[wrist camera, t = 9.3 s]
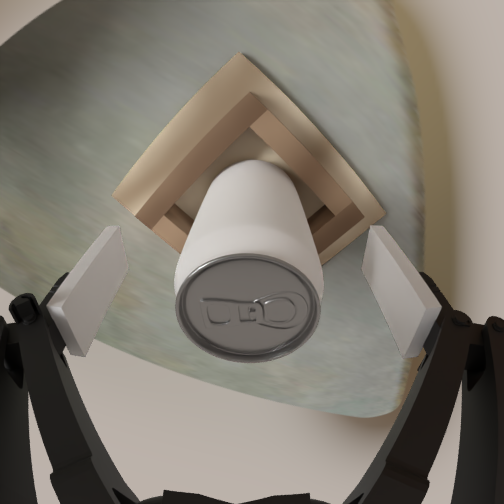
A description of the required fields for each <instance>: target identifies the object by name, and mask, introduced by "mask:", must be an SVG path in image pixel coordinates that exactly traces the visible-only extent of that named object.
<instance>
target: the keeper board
mask: <svg viewBox="0 0 504 504" xmlns="http://www.w3.org/2000/svg"><path fill="white" fill-rule="evenodd" d="M243 160H262V161H266V162H269V163H271V164H274V165H276V166H277V167H279V168H280V169H282V170H283V171H284V172H285V173H286V174H287V175H288V176H289V177H290V179H291V180H292V182H293V184H294V186H295V188H296V191H297V193H298V196H299V199H300V201H301V204H302V207H303V210H304V213H305V216H306V219H307V222H308V225H309V228H310V231H311V234H312V237H313V240H314V243H315V247H316V250H317V253H318V257H319V260H320V264H321V266H322V265H323V264H325V263H326V262H327V261H328V260H330V259H331V258H332V257H333V256H335V255H336V254H337V253H339V252H340V251H341V250H342V249H344V248H345V247H346V246H347V245H349V244H350V243H351V242H352V241H354V240H355V239H356V238H357V237H359V236H360V235H361V234H362V233H363V232H365V231H366V230H367V229H368V228H370V225H373V224H374V223H376V222H377V221H378V220H379V219H380V218H382V217H383V216H384V215H385V214H386V212H385V211H384V210H383V208H382V207H381V206H380V204H379V203H378V202H377V200H376V199H375V198H374V196H373V195H372V194H371V192H370V191H369V190H368V188H367V187H366V186H365V185H364V183H363V182H362V181H361V180H360V178H359V177H358V176H357V175H356V173H355V172H354V171H353V170H352V168H351V167H350V166H349V165H348V163H347V162H346V161H345V160H344V159H343V158H342V156H341V155H340V154H339V153H338V152H337V150H336V149H335V148H334V147H333V146H332V145H331V143H330V142H329V141H328V140H327V139H326V138H325V137H324V136H323V134H322V133H321V132H320V131H319V130H318V129H317V128H316V127H315V126H314V124H313V123H312V122H311V121H310V120H309V119H308V118H307V117H306V116H305V115H304V114H303V113H302V112H301V111H300V110H299V108H298V107H297V106H296V105H295V104H294V103H293V102H292V101H291V100H290V99H289V98H288V97H287V96H286V95H285V94H284V93H283V92H282V91H281V90H280V89H279V88H278V87H277V86H276V85H275V84H274V83H273V82H272V81H271V80H270V79H269V78H267V77H266V76H265V75H264V74H263V73H262V72H261V71H260V70H259V69H258V68H257V67H256V66H255V65H254V64H252V63H251V62H250V61H249V60H248V59H247V58H246V57H245V56H244V55H242V54H241V53H240V52H238V53H237V54H236V55H235V56H234V57H232V58H231V59H230V60H229V61H228V62H227V63H226V64H225V65H224V66H223V67H222V68H221V69H220V70H219V71H218V72H217V73H216V74H215V75H214V76H213V77H212V78H211V79H210V80H209V81H208V82H207V83H206V84H205V85H204V86H203V87H202V88H201V89H200V90H199V91H198V92H197V93H196V94H195V95H194V96H193V97H192V98H191V99H190V100H189V101H188V102H187V103H186V104H185V105H184V107H183V108H182V109H181V110H180V111H179V112H178V113H177V114H176V115H175V116H174V118H173V119H172V120H171V121H170V122H169V123H168V124H167V126H166V127H165V128H164V129H163V130H162V131H161V133H160V134H159V135H158V136H157V137H156V138H155V140H154V141H153V142H152V143H151V144H150V146H149V147H148V148H147V149H146V151H145V152H144V153H143V154H142V156H141V157H140V158H139V159H138V161H137V162H136V163H135V164H134V166H133V167H132V168H131V170H130V171H129V172H128V174H127V175H126V176H125V178H124V179H123V180H122V182H121V183H120V184H119V186H118V187H117V188H116V190H115V191H114V193H113V194H112V195H111V196H112V197H114V198H115V199H116V200H117V201H118V202H119V203H120V204H122V205H123V206H124V207H125V208H126V209H127V210H129V211H130V212H131V213H132V214H133V215H135V217H136V218H137V219H139V220H140V221H141V222H142V223H143V224H145V225H146V226H147V227H148V228H149V229H151V230H152V231H153V232H154V233H155V234H157V235H158V236H159V237H160V238H161V239H163V240H164V241H165V242H166V243H168V244H169V245H170V246H171V247H172V248H174V249H175V250H176V251H177V252H179V253H180V254H181V252H182V250H183V247H184V245H185V242H186V240H187V237H188V235H189V232H190V230H191V228H192V225H193V223H194V221H195V218H196V216H197V214H198V211H199V209H200V207H201V205H202V202H203V200H204V198H205V196H206V194H207V191H208V189H209V187H210V185H211V183H212V182H213V180H214V179H215V177H216V176H217V175H218V174H219V173H220V172H221V171H222V170H223V169H225V168H226V167H228V166H229V165H231V164H233V163H236V162H239V161H243Z"/></svg>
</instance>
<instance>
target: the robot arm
mask: <svg viewBox="0 0 504 504" xmlns="http://www.w3.org/2000/svg"><path fill="white" fill-rule="evenodd" d="M128 270H129V266H128V262H127V258H126V253H125V249H124V244H123V240H122V235H121V230H120V226H107V227H106V228H105V229H104V230H103V232H102V233H101V234H100V235H99V236H98V238H97V239H96V240H95V241H94V242H93V244H92V245H91V246H90V247H89V249H88V250H87V251H86V252H85V254H84V255H83V256H82V258H81V259H80V260H79V261H78V263H77V264H76V265H75V267H74V268H73V269H72V271H71V272H70V273H69V272H67V273H66V274H64V275H63V276H62V277H60V278H59V279H58V280H57V282H56V283H55V284H54V287H52V289H51V290H50V292H49V293H48V294H47V295H46V297H45V298H44V300H43V301H42V302H41V304H40V305H38V303H37V301H36V298H35V296H34V295H33V294H31V293H25V294H22V295H19V296H18V297H16V298H15V299H14V300H13V301H12V302H11V303H10V305H9V311H10V313H11V315H12V317H13V319H14V320H15V322H16V323H10V324H7V323H6V321H5V320H4V318H3V317H2V316H0V504H38V503H37V497H36V491H35V486H34V479H33V471H32V463H31V453H30V439H29V418H28V391H29V395H30V399H31V403H32V407H33V410H34V414H35V418H36V421H37V425H38V428H39V431H40V434H41V437H42V440H43V443H44V446H45V449H46V452H47V454H48V457H49V460H50V462H51V465H52V468H53V473H51V474H50V480H51V483H52V486H53V488H54V491H55V493H56V495H57V497H58V500H59V502H60V504H232V503H228V502H225V501H221V500H217V499H214V498H210V497H207V496H204V495H200V494H194V493H185V492H176V491H169V490H164V492H163V496H158V497H153V498H149V499H146V500H143V501H141V502H140V501H139V499H138V498H137V497H136V495H135V494H134V493H133V492H132V491H131V489H130V488H129V487H128V486H127V484H126V483H125V482H124V480H123V478H122V477H121V475H120V473H119V472H118V470H117V468H116V467H115V465H114V463H113V462H112V460H111V458H110V456H109V454H108V452H107V451H106V449H105V447H104V445H103V443H102V441H101V439H100V437H99V436H98V433H97V431H96V430H95V427H94V425H93V423H92V421H91V419H90V417H89V414H88V412H87V410H86V408H85V406H84V404H83V401H82V399H81V396H80V394H79V391H78V389H77V387H76V384H75V382H74V379H73V376H72V374H71V371H70V368H69V366H68V363H67V360H66V357H65V356H64V354H63V350H64V348H65V346H67V348H68V350H69V352H70V354H71V355H75V356H81V357H86V354H87V352H88V350H89V348H90V345H91V343H92V341H93V339H94V337H95V335H96V333H97V331H98V329H99V327H100V325H101V322H102V320H103V318H104V316H105V314H106V312H107V310H108V308H109V306H110V304H111V303H112V301H113V299H114V297H115V295H116V293H117V291H118V289H119V287H120V285H121V283H122V282H123V280H124V278H125V276H126V274H127V272H128ZM361 270H362V272H363V274H364V276H365V278H366V280H367V282H368V284H369V286H370V288H371V290H372V292H373V294H374V296H375V298H376V301H377V303H378V305H379V307H380V309H381V311H382V313H383V315H384V317H385V320H386V322H387V324H388V326H389V328H390V331H391V333H392V335H393V337H394V340H395V342H396V344H397V346H398V349H399V351H400V353H401V356H402V358H403V359H405V358H412V357H417V356H418V355H419V353H420V352H421V350H422V347H424V349H425V351H426V355H425V357H424V359H423V361H422V363H421V364H420V366H419V368H418V374H417V376H416V378H415V381H414V383H413V385H412V388H411V390H410V392H409V394H408V396H407V398H406V400H405V403H404V405H403V407H402V409H401V411H400V413H399V415H398V417H397V419H396V421H395V423H394V425H393V427H392V428H391V430H390V432H389V434H388V436H387V438H386V440H385V441H384V443H383V445H382V447H381V448H380V450H379V452H378V453H377V455H376V457H375V458H374V460H373V462H372V463H371V465H370V467H369V468H368V470H367V472H366V473H365V475H364V476H363V478H362V479H361V481H360V482H359V484H358V485H357V486H356V488H355V489H354V490H353V492H352V493H351V494H350V495H349V496H348V498H347V499H346V500H345V501H344V502H343V504H421V503H422V501H423V499H424V497H425V495H426V493H427V490H428V488H429V483H430V482H429V480H427V477H428V474H429V472H430V469H431V467H432V465H433V462H434V460H435V458H436V455H437V453H438V450H439V448H440V445H441V443H442V440H443V437H444V435H445V432H446V429H447V426H448V423H449V420H450V417H451V414H452V412H453V408H454V405H455V402H456V398H457V395H458V391H459V388H460V384H461V380H462V413H461V432H460V444H459V454H458V462H457V470H456V477H455V483H454V489H453V495H452V500H451V504H504V320H503V319H501V318H498V317H496V316H491V317H489V318H488V319H487V321H486V323H485V325H481V324H475V323H472V321H471V319H470V318H469V317H468V316H467V315H466V314H465V313H463V312H461V311H457V310H453V308H452V307H451V305H450V304H449V303H448V301H447V300H446V298H445V297H444V295H443V294H442V293H441V292H440V290H439V288H438V287H436V284H435V283H434V281H433V280H432V279H431V278H430V277H429V276H428V275H426V274H425V273H424V272H418V271H417V270H416V268H415V267H414V266H413V264H412V263H411V262H410V260H409V259H408V258H407V256H406V255H405V254H404V252H403V251H402V250H401V248H400V247H399V246H398V244H397V243H396V242H395V240H394V239H393V238H392V237H391V235H390V234H389V233H388V231H387V230H386V229H385V228H384V226H376V225H370V229H369V234H368V239H367V244H366V249H365V254H364V258H363V263H362V267H361ZM241 504H329V503H326V502H324V501H319V500H314V499H310V493H306V494H293V495H277V496H271V497H267V498H263V499H259V500H254V501H250V502H245V503H241Z"/></svg>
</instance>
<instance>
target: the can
mask: <svg viewBox="0 0 504 504" xmlns="http://www.w3.org/2000/svg"><path fill="white" fill-rule="evenodd" d="M174 288H175V294H176V304H175V309H176V316H177V320H178V322H179V325H180V327H181V329H182V330H183V332H184V333H185V335H186V336H187V337H188V338H189V339H190V340H191V341H192V342H193V343H194V344H195V345H196V346H198V347H199V348H200V349H202V350H204V351H205V352H207V353H209V354H211V355H213V356H216V357H218V358H221V359H224V360H228V361H233V362H241V363H259V362H266V361H271V360H275V359H278V358H281V357H284V356H286V355H288V354H290V353H292V352H294V351H295V350H297V349H298V348H300V347H301V346H302V345H303V344H304V343H306V342H307V340H308V339H309V338H310V337H311V336H312V334H313V333H314V331H315V329H316V327H317V325H318V322H319V319H320V312H321V306H320V303H321V300H322V297H323V291H324V279H323V272H322V268H321V264H320V260H319V257H318V253H317V250H316V247H315V243H314V240H313V237H312V234H311V231H310V228H309V225H308V222H307V219H306V216H305V213H304V210H303V207H302V204H301V201H300V199H299V196H298V193H297V191H296V188H295V186H294V184H293V182H292V180H291V179H290V177H289V176H288V175H287V174H286V173H285V172H284V171H283V170H282V169H280V168H279V167H277V166H276V165H274V164H271V163H269V162H266V161H262V160H243V161H239V162H236V163H233V164H231V165H229V166H228V167H226V168H225V169H223V170H222V171H221V172H220V173H219V174H218V175H217V176H216V177H215V179H214V180H213V182H212V183H211V185H210V187H209V189H208V191H207V194H206V196H205V198H204V200H203V202H202V205H201V207H200V209H199V211H198V214H197V216H196V218H195V221H194V223H193V225H192V228H191V230H190V232H189V235H188V237H187V240H186V242H185V245H184V247H183V250H182V252H181V255H180V258H179V261H178V264H177V267H176V271H175V277H174Z"/></svg>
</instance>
